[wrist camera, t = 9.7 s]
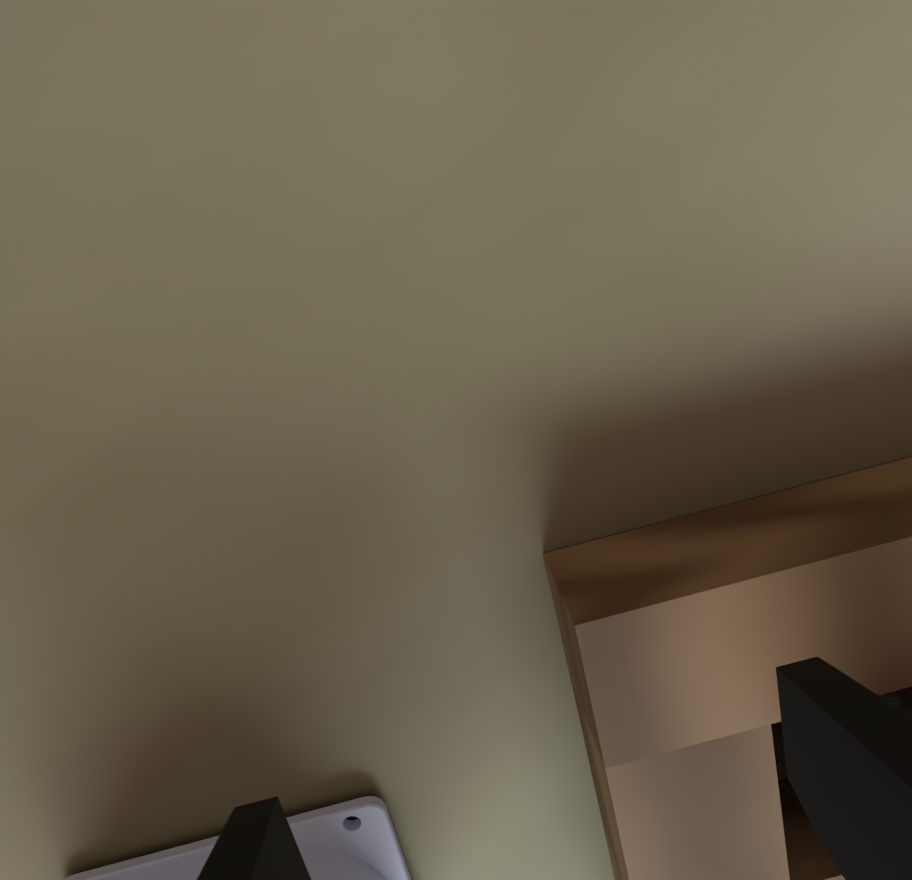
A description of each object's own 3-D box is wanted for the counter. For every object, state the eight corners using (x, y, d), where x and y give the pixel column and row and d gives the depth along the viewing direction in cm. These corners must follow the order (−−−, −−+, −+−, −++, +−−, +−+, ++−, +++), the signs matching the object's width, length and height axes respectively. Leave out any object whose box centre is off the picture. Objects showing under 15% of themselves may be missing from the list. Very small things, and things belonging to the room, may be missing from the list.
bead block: (625, 926, 28) (661, 1033, 24) (543, 553, 23) (575, 625, 19) (1040, 813, 28) (1130, 904, 25) (1048, 420, 23) (1163, 470, 20)
